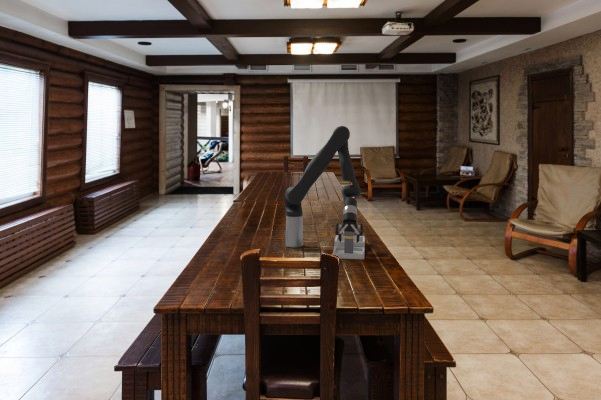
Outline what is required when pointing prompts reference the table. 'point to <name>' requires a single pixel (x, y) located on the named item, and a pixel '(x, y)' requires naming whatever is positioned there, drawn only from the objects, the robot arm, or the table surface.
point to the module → (348, 242)
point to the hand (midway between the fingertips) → (348, 241)
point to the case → (359, 244)
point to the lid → (357, 253)
